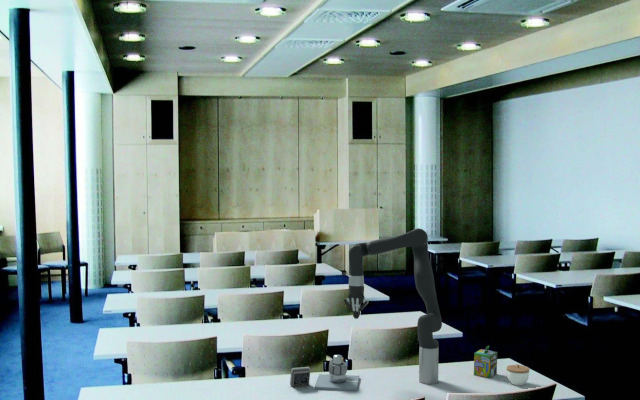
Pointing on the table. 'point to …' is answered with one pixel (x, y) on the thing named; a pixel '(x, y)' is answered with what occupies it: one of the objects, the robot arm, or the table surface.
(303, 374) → the electrical switch
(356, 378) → the base board
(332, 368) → the coupling
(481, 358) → the chalk box
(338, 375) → the post
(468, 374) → the table surface
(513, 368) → the lidded jar
